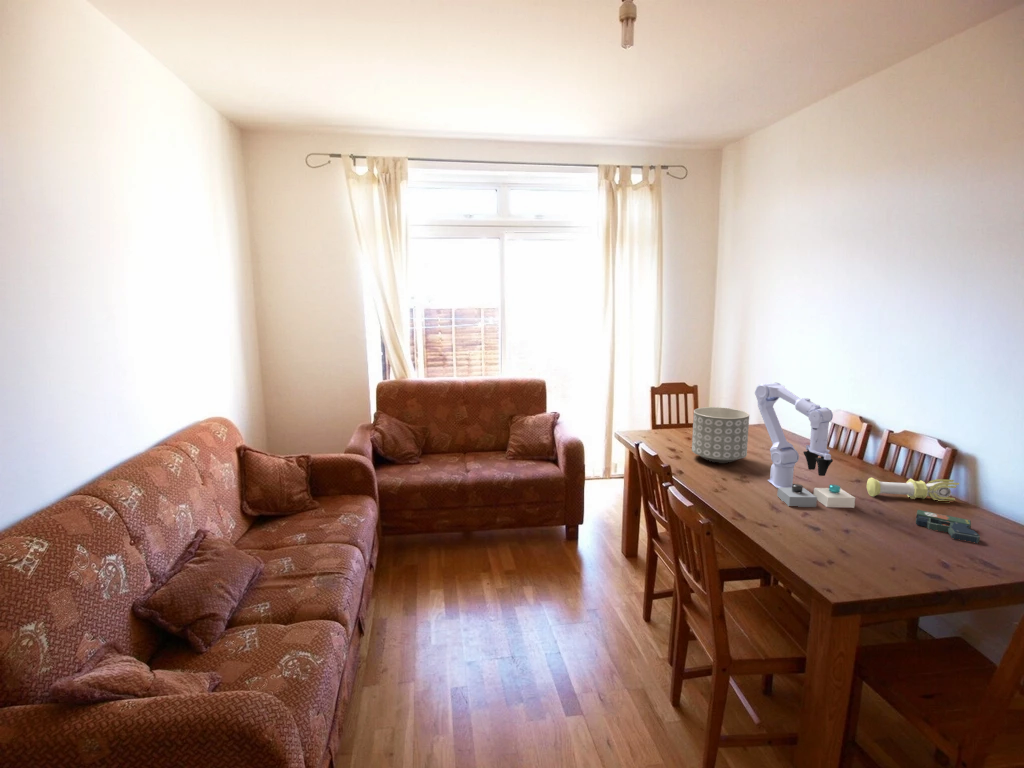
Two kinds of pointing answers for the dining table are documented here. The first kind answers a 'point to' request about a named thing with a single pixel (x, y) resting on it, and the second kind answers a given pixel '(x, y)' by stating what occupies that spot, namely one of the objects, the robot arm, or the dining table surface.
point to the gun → (947, 525)
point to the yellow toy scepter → (913, 488)
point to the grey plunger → (797, 488)
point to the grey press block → (797, 497)
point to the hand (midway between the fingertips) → (816, 472)
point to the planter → (720, 434)
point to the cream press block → (834, 498)
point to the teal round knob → (834, 488)
